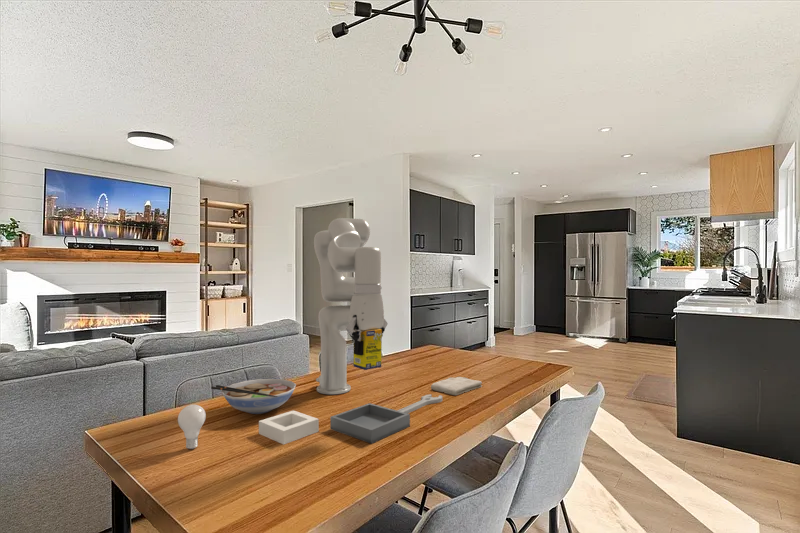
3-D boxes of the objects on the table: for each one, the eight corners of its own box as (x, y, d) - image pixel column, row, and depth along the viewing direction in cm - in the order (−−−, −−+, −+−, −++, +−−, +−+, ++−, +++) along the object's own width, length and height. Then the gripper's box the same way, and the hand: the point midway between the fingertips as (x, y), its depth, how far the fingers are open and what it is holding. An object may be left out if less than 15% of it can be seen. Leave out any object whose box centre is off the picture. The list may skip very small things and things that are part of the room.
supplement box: (365, 370, 117) (365, 330, 117) (352, 366, 122) (353, 328, 122) (382, 367, 121) (382, 329, 121) (369, 363, 126) (369, 326, 126)
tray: (330, 429, 120) (330, 416, 120) (369, 414, 133) (369, 403, 133) (371, 443, 110) (371, 430, 110) (409, 426, 123) (409, 414, 123)
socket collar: (258, 433, 117) (258, 420, 117) (293, 422, 126) (293, 410, 126) (283, 444, 110) (283, 430, 110) (318, 431, 119) (318, 418, 119)
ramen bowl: (313, 405, 142) (313, 380, 142) (264, 428, 121) (264, 399, 121) (255, 396, 152) (256, 373, 152) (202, 416, 132) (202, 389, 132)
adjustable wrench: (396, 420, 129) (396, 414, 129) (381, 415, 133) (381, 410, 133) (445, 401, 147) (445, 396, 147) (430, 397, 152) (430, 392, 152)
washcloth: (483, 387, 165) (483, 379, 165) (455, 397, 152) (455, 389, 152) (458, 382, 173) (458, 374, 173) (430, 391, 160) (430, 382, 160)
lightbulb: (184, 444, 110) (184, 401, 110) (209, 443, 111) (209, 400, 111) (173, 454, 104) (173, 409, 104) (200, 453, 104) (200, 408, 105)
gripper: (378, 288, 131) (378, 347, 131) (335, 291, 118) (335, 355, 117) (397, 289, 126) (397, 350, 126) (354, 291, 113) (354, 359, 113)
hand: (367, 352), depth 122 cm, fingers closed on supplement box, 6 cm apart
